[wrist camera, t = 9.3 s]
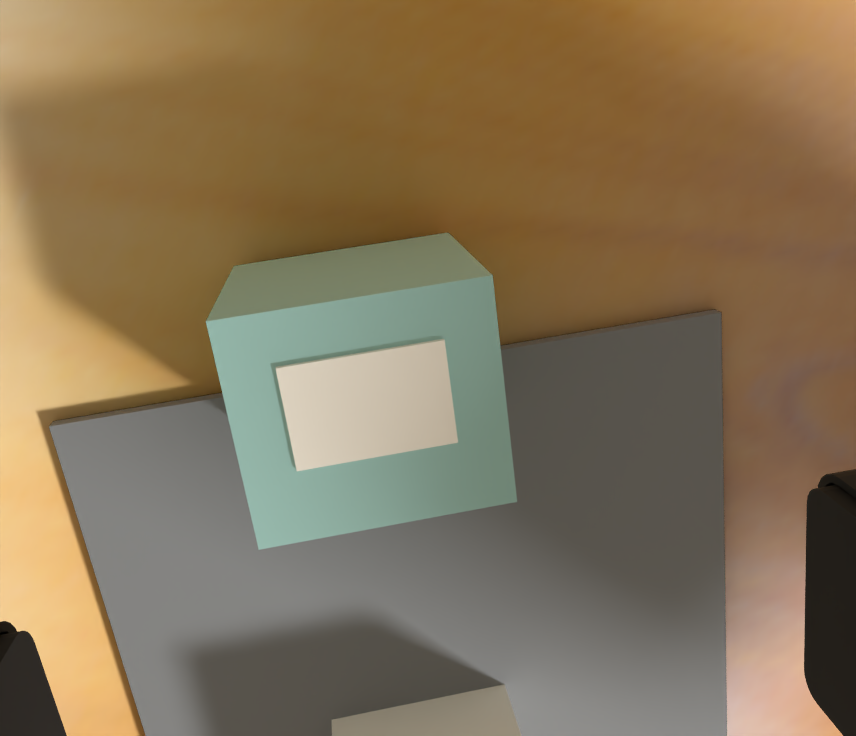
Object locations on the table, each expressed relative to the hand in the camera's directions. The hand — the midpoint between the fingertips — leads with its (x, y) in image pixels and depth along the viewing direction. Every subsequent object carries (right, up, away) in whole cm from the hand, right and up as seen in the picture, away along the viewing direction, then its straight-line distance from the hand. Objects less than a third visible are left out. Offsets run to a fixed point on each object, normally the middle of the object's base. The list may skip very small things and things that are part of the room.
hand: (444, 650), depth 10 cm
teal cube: (-2, +4, +14) cm, 14 cm away
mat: (0, -7, +18) cm, 19 cm away
